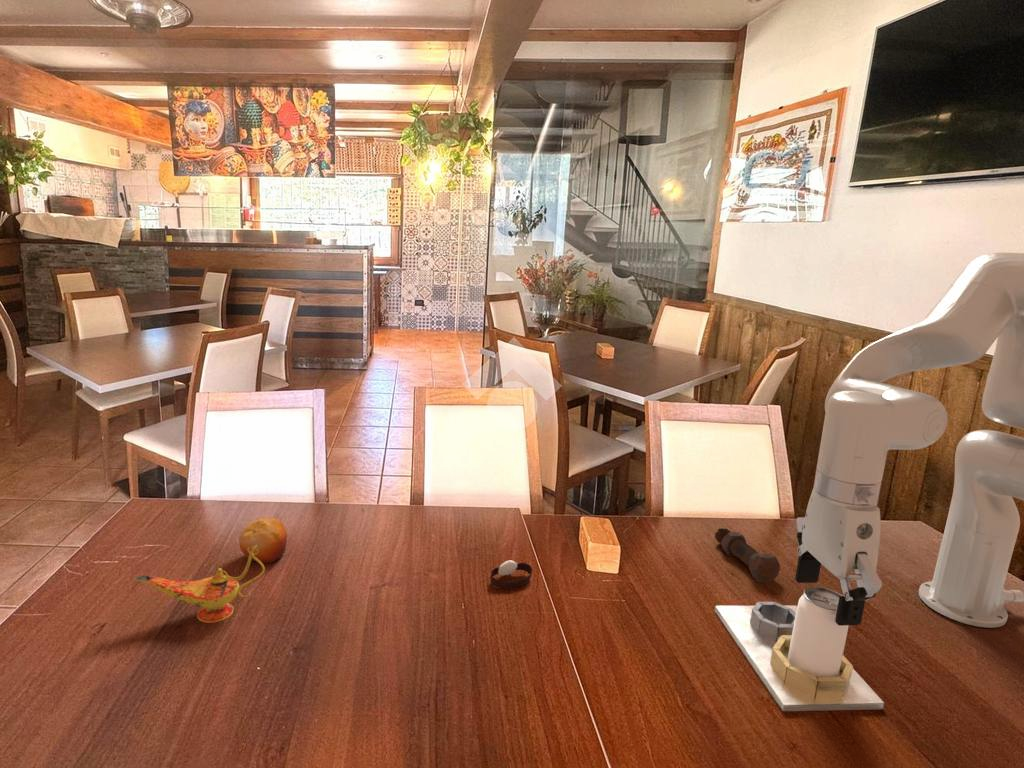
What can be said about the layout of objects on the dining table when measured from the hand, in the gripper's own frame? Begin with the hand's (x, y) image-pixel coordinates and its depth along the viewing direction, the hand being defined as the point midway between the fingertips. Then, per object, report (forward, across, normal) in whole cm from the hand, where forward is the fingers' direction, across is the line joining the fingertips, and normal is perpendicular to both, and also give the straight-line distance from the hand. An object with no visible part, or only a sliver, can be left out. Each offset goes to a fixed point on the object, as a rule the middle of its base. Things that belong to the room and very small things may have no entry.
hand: (825, 601), depth 85 cm
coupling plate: (+12, +5, +1) cm, 13 cm away
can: (+11, -1, +1) cm, 11 cm away
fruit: (+10, +33, +85) cm, 92 cm away
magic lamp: (+10, +16, +89) cm, 91 cm away
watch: (+12, +25, +41) cm, 49 cm away
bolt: (+13, +32, -4) cm, 35 cm away
